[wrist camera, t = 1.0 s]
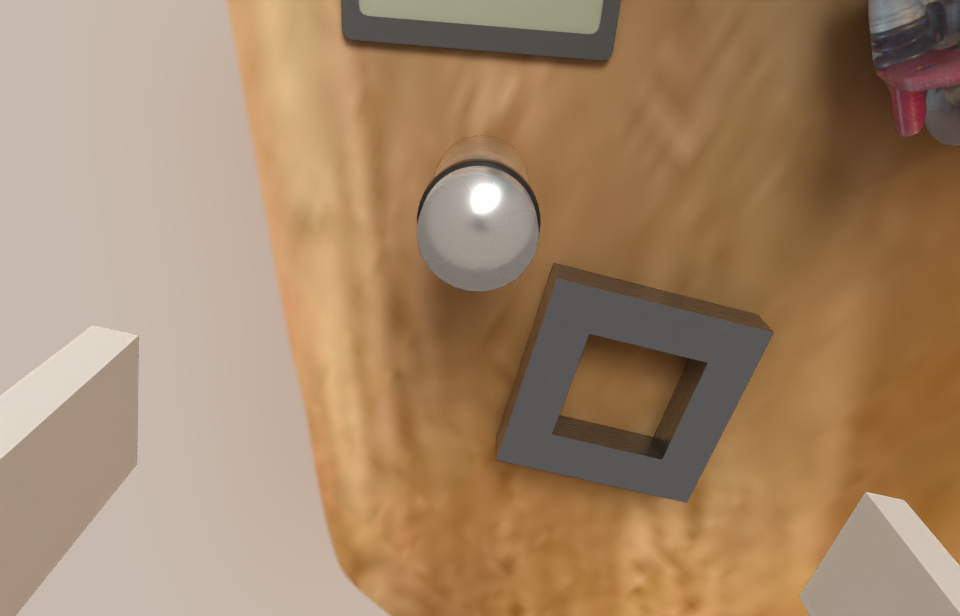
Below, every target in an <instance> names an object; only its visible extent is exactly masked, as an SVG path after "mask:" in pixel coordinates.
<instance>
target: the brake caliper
mask: <svg viewBox="0 0 960 616" xmlns="http://www.w3.org/2000/svg"><path fill="white" fill-rule="evenodd" d="M868 18H869V28H870V37H871V46H872V57H873V65H874V69H875V71H876V73H877V76H878V77H879V78H881V79H882V80H883V81H884V82H885V84H886V85H887V87H888V89H889V91H890V94H891V99H892V106H893V119H894V124H895V128H896V131H897V133H898V135H899V136H901V137H910V136H913V135H915V134H917V133H918V132H919V131H920V130H921V129H922V127H923V125H924V124H925V126H926V128H927V130H928V132H929V133H930V135H931V136H932V137H934V138H935V139H936V140H937V141H938V142H940V143H942V144H944V145H955V146H960V0H868Z"/></svg>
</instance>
